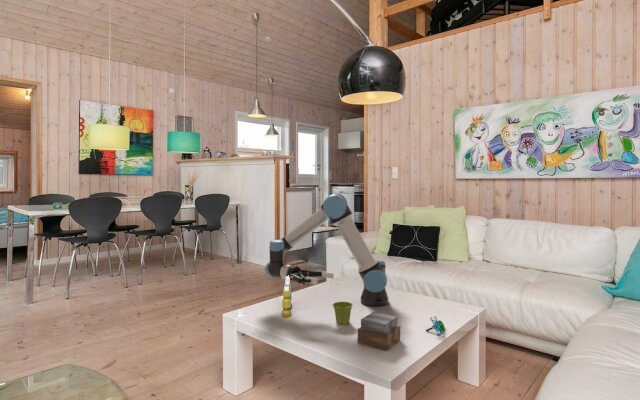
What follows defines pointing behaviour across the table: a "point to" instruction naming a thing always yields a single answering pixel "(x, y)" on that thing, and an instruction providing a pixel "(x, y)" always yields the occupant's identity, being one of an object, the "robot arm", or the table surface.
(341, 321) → the plant pot
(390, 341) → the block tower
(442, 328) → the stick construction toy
